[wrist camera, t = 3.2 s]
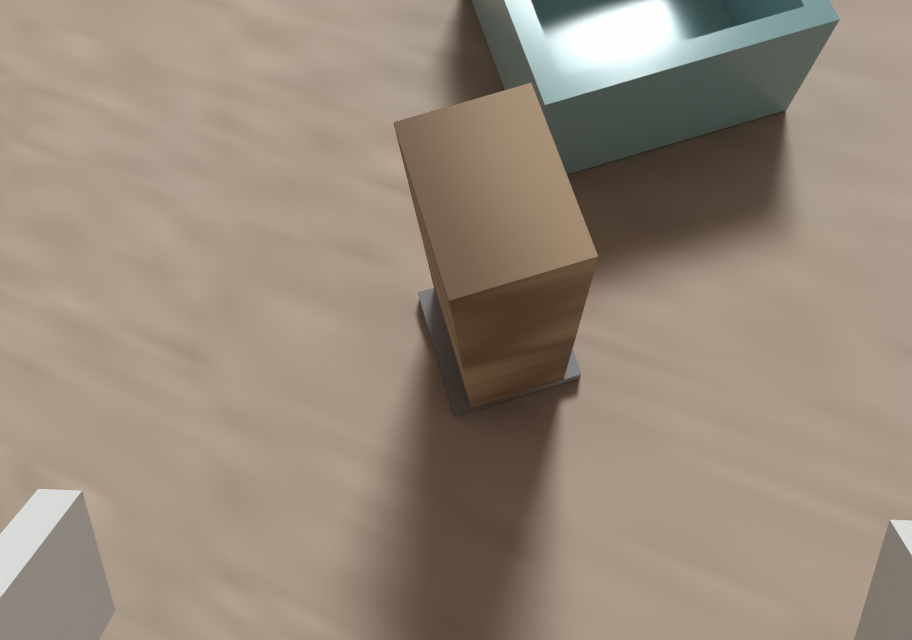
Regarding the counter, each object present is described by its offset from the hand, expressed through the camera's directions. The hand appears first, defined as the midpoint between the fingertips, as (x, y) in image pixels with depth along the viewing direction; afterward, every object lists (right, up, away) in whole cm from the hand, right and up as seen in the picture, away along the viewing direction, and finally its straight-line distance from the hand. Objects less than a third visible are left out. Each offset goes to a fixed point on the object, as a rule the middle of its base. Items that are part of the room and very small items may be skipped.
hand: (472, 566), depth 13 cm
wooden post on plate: (+1, +4, +14) cm, 15 cm away
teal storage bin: (+6, +15, +18) cm, 24 cm away
